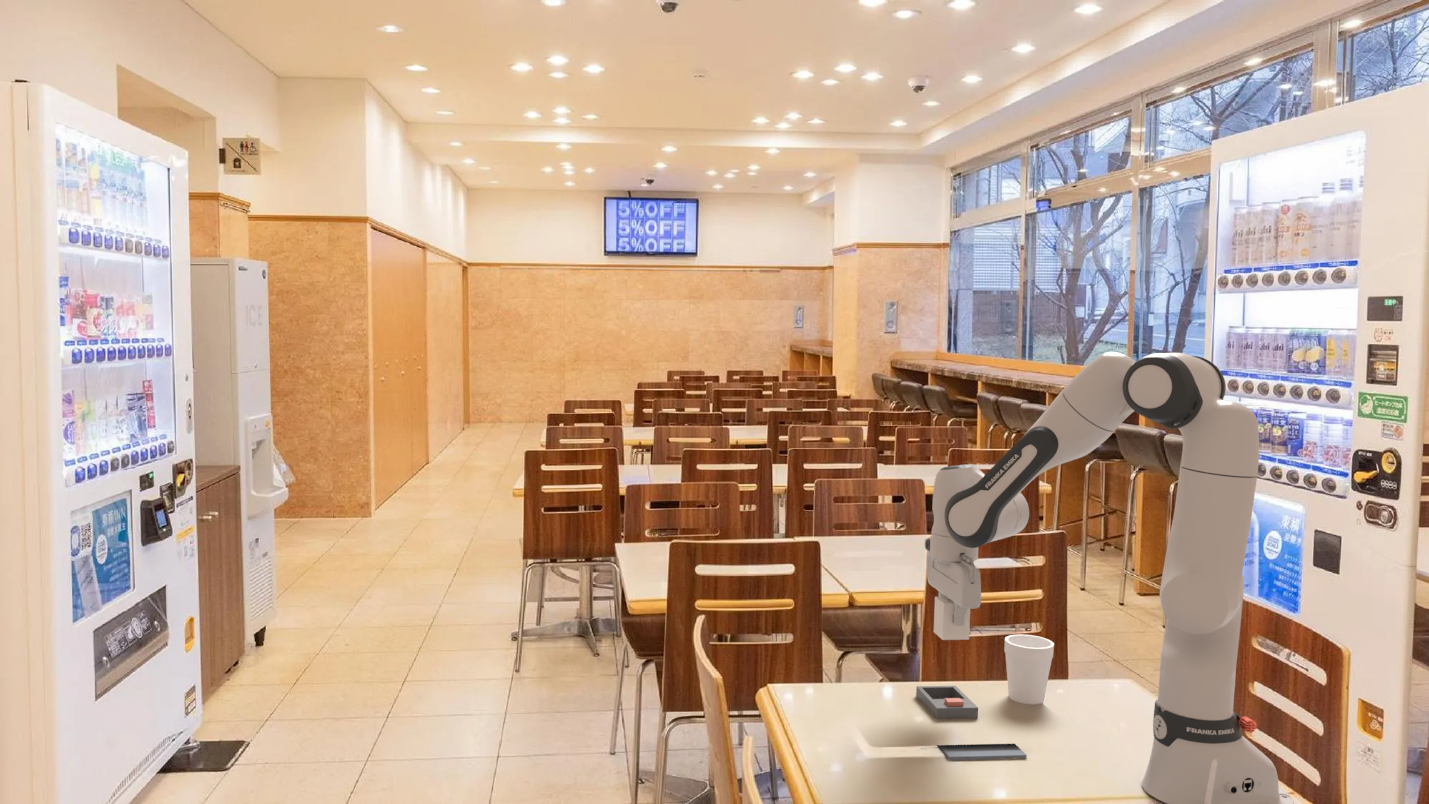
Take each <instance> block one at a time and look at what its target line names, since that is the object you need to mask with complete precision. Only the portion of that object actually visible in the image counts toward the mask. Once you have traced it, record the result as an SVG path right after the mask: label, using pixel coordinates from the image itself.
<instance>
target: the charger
mask: <svg viewBox="0 0 1429 804" xmlns="http://www.w3.org/2000/svg"><path fill="white" fill-rule="evenodd" d="M933 613H934V614H933V633H934V634H935V635H937V637H939V639H941V640H942V641H961V640H962V641H963V640H965V641H966V640H969V641H970V625H971V609H967V612H966V614H965V616H964V625H962V626H956V625H955V624H954V623H953V622H952V620H953V618H952V617H953V615H954V613H955V607H954V602H953V601H952V600H950V599H949V598H947V597H946V596H940V597H939V596H934V611H933Z"/></svg>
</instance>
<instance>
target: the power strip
mask: <svg viewBox="0 0 1429 804" xmlns="http://www.w3.org/2000/svg"><path fill="white" fill-rule="evenodd" d="M915 690H916V691H915V696H916V698H917V699H918V700H919V701H920V702H921V703H922V705H924V707H925V708H926V710H928V711H929V712H930V713H931V715H932V716H933V717H934V718H935V719H936V720H953V719H956V720H957V719H958V720H959V719H960V720H961V719H962V720H965V719H967V720H968V719H969V720H970V719H978V718H979V716H978V715H979V707H978V705H976V703H974V702H973V701H972V700H971V699H970V698H969V697H968V696H967V695H966V694H965V693H964V692H963V691H962V690H960V688H958V686H957V685H924V686H923V685H917V686H916V689H915Z"/></svg>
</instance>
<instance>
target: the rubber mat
mask: <svg viewBox="0 0 1429 804" xmlns="http://www.w3.org/2000/svg"><path fill="white" fill-rule="evenodd" d="M935 746H936V747H937V748H938V749H939V750H940V752H941V753H942V754H943V755H944V757H946V759H947V760H948V761H971V760H973V761H975V760H976V761H978V760H982V761H983V760H1003V759H1002V758H1007V759H1006V760H1009V759H1008V758H1025V759H1027V756H1028V755H1027V754H1026V753H1025V752H1024V751H1023V750H1022V749H1021V748H1020V747H1019V746H1018V745H1017V744H1016V743H987V744H986V743H983V744H982V743H980V744H977V743H974V744H939V745H937V744H936V745H935ZM1000 758H1001V759H1000Z"/></svg>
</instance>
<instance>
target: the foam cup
mask: <svg viewBox="0 0 1429 804" xmlns="http://www.w3.org/2000/svg"><path fill="white" fill-rule="evenodd" d="M1054 649H1055V642H1053V641H1052V640H1050V639H1048V638H1045V637H1042V636H1038V635H1032V634H1010V635H1008V636H1005V637H1004V647H1003V651H1004V654H1005V665H1006V666H1005V667H1006V678H1007V691H1008V698H1009V699H1010V700H1011V701H1014V702H1016V703H1020V704H1025V705H1040V704H1042V705H1044V701H1045V696H1046V690H1047V684H1048V679H1049V676H1050V670H1051V665H1052V661H1053V658H1054Z"/></svg>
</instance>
